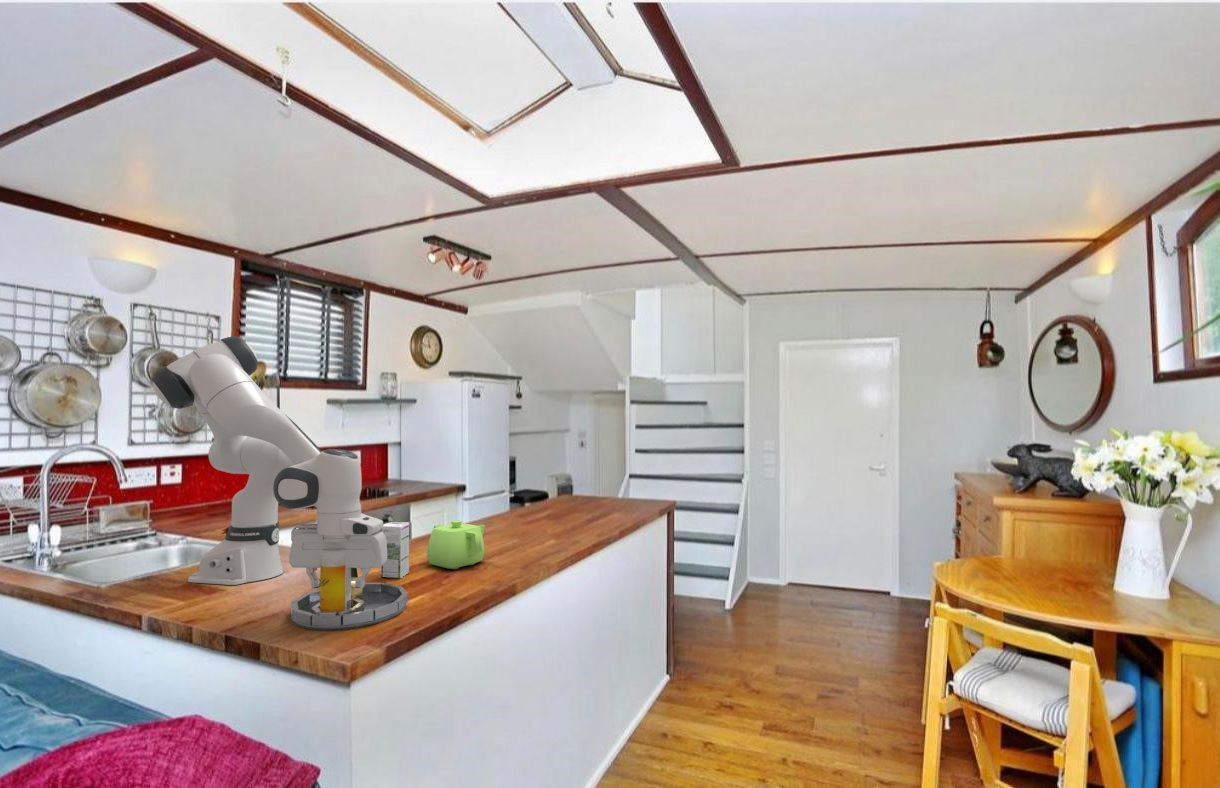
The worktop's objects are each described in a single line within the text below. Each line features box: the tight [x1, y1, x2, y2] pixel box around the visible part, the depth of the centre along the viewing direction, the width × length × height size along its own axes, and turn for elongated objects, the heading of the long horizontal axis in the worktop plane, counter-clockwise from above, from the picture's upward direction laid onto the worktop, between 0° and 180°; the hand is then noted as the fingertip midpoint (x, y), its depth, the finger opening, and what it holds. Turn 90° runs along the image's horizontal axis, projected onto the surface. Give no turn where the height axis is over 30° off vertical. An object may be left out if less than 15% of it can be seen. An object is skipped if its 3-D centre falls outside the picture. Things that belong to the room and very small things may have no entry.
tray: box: [290, 576, 409, 631], centre depth 138 cm, size 24×24×7 cm
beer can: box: [319, 549, 351, 611], centre depth 131 cm, size 6×6×15 cm
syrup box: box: [380, 521, 410, 579], centre depth 167 cm, size 6×6×14 cm
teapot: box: [426, 519, 486, 570], centre depth 181 cm, size 18×20×13 cm
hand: (338, 587), depth 131 cm, fingers open, 8 cm apart
